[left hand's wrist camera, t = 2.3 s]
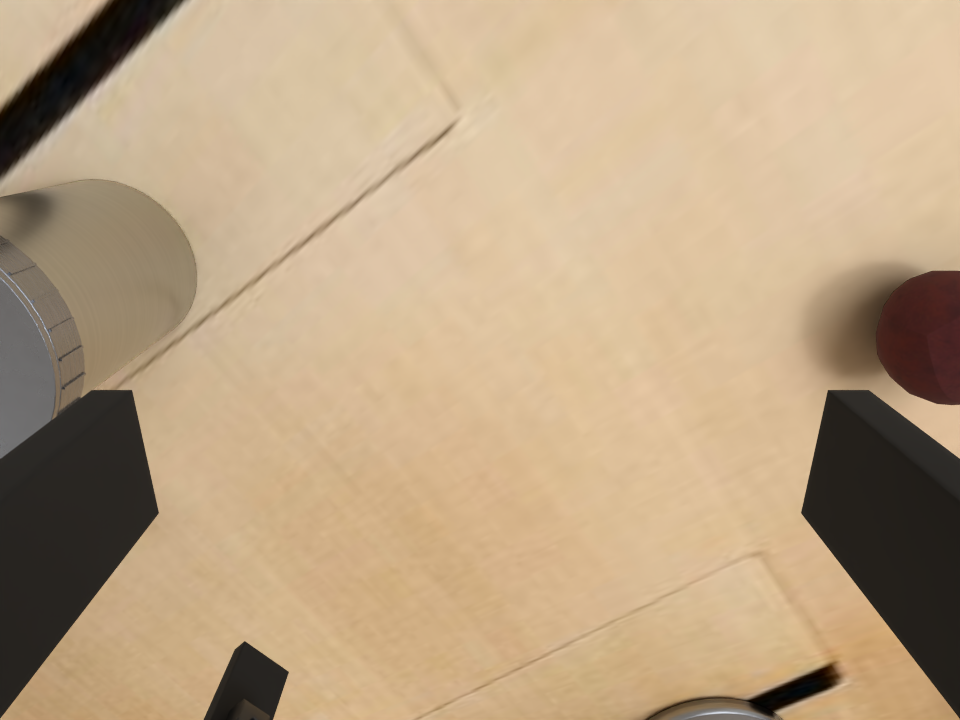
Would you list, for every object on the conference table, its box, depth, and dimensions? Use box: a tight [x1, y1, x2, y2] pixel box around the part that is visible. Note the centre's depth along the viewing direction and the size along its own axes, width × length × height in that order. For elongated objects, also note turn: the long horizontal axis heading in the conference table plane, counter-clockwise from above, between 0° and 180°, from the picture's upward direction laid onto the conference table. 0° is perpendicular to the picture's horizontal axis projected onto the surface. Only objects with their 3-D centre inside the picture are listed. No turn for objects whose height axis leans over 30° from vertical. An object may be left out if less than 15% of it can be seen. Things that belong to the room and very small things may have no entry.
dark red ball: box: [876, 271, 960, 405], centre depth 37 cm, size 7×8×7 cm
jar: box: [0, 179, 197, 398], centre depth 33 cm, size 10×10×15 cm
